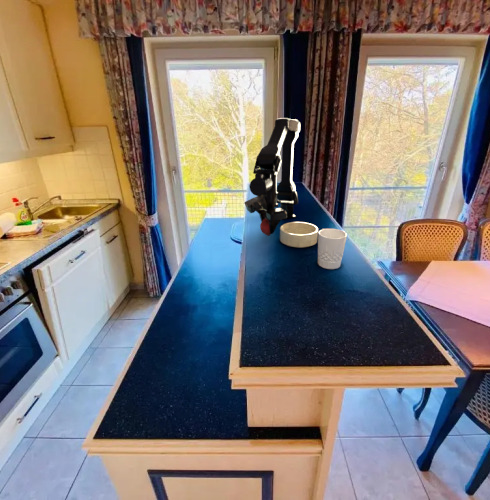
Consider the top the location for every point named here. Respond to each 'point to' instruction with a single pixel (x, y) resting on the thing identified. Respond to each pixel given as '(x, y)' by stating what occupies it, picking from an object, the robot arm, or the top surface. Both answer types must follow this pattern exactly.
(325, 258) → the white cup
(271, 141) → the robot arm
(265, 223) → the onion
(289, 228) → the bowl
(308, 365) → the top surface
